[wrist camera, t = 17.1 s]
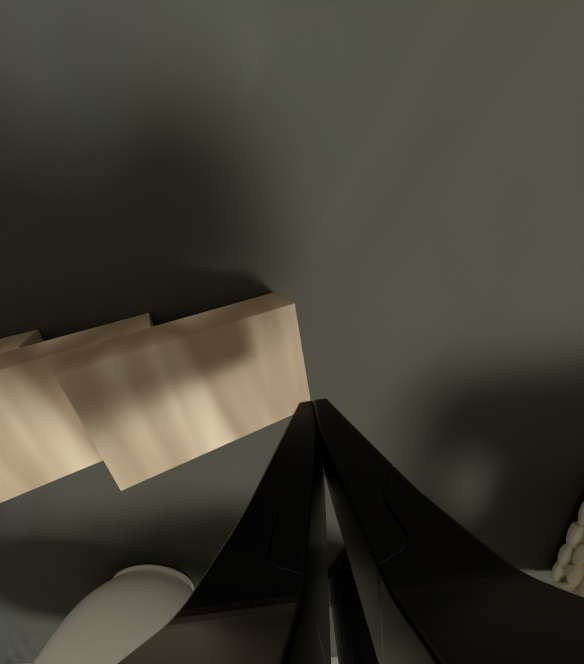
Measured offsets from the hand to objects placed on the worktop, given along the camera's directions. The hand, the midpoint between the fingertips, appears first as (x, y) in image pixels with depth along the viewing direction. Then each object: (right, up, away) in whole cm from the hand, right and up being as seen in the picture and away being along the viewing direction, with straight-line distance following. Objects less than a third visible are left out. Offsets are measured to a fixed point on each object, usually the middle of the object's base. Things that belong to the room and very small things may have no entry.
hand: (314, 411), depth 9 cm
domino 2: (-1, +2, +4) cm, 5 cm away
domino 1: (-6, +1, +4) cm, 8 cm away
